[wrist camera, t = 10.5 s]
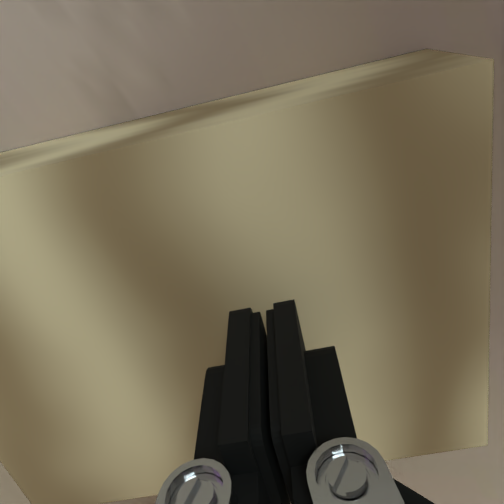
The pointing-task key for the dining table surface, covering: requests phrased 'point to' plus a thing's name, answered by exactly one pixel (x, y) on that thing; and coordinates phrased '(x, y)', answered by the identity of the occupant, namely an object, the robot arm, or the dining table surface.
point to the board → (248, 268)
